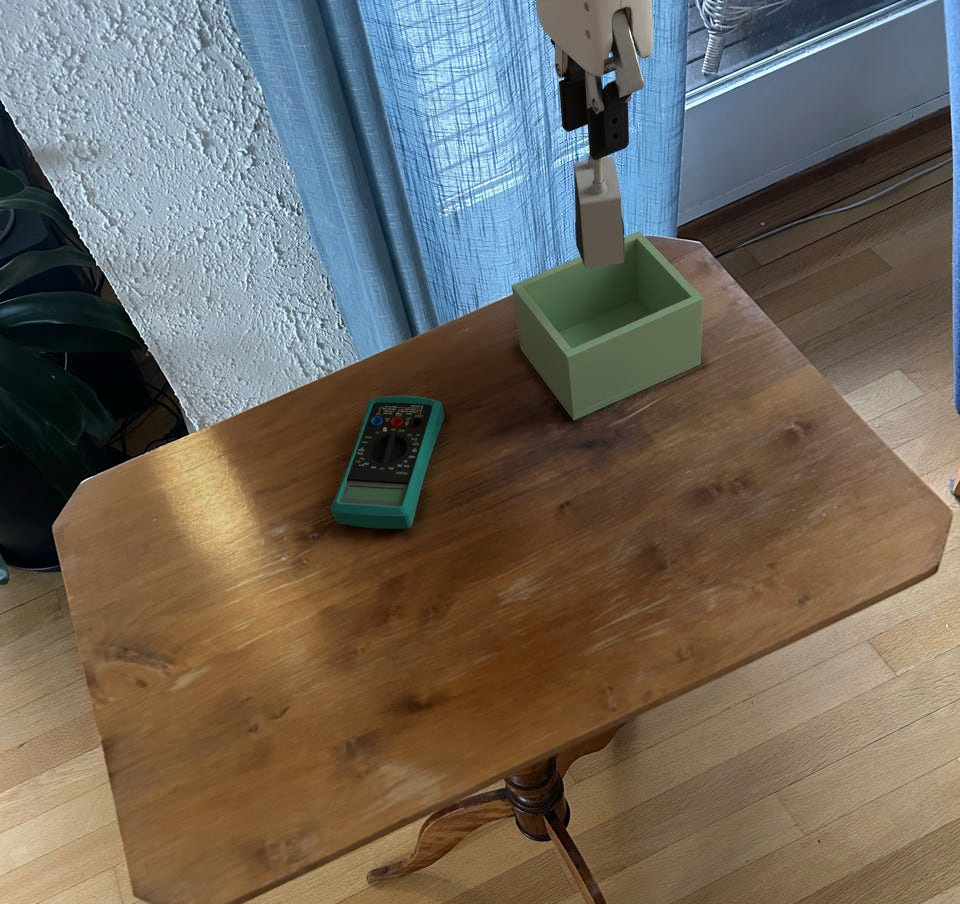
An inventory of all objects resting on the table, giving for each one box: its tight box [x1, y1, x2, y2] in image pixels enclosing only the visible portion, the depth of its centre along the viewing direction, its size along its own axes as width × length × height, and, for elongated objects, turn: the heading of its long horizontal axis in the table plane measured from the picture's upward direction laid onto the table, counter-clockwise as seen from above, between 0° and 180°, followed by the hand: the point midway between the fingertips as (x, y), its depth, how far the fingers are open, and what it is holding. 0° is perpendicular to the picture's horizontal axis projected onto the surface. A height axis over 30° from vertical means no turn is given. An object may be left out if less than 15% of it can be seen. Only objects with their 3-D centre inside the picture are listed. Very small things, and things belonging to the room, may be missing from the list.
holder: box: [511, 231, 704, 421], centre depth 97 cm, size 12×14×8 cm
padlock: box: [573, 70, 625, 269], centre depth 83 cm, size 7×4×15 cm, turn 2°
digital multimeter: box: [330, 394, 445, 530], centre depth 95 cm, size 7×15×3 cm, turn 168°
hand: (595, 136), depth 81 cm, fingers closed on padlock, 3 cm apart
